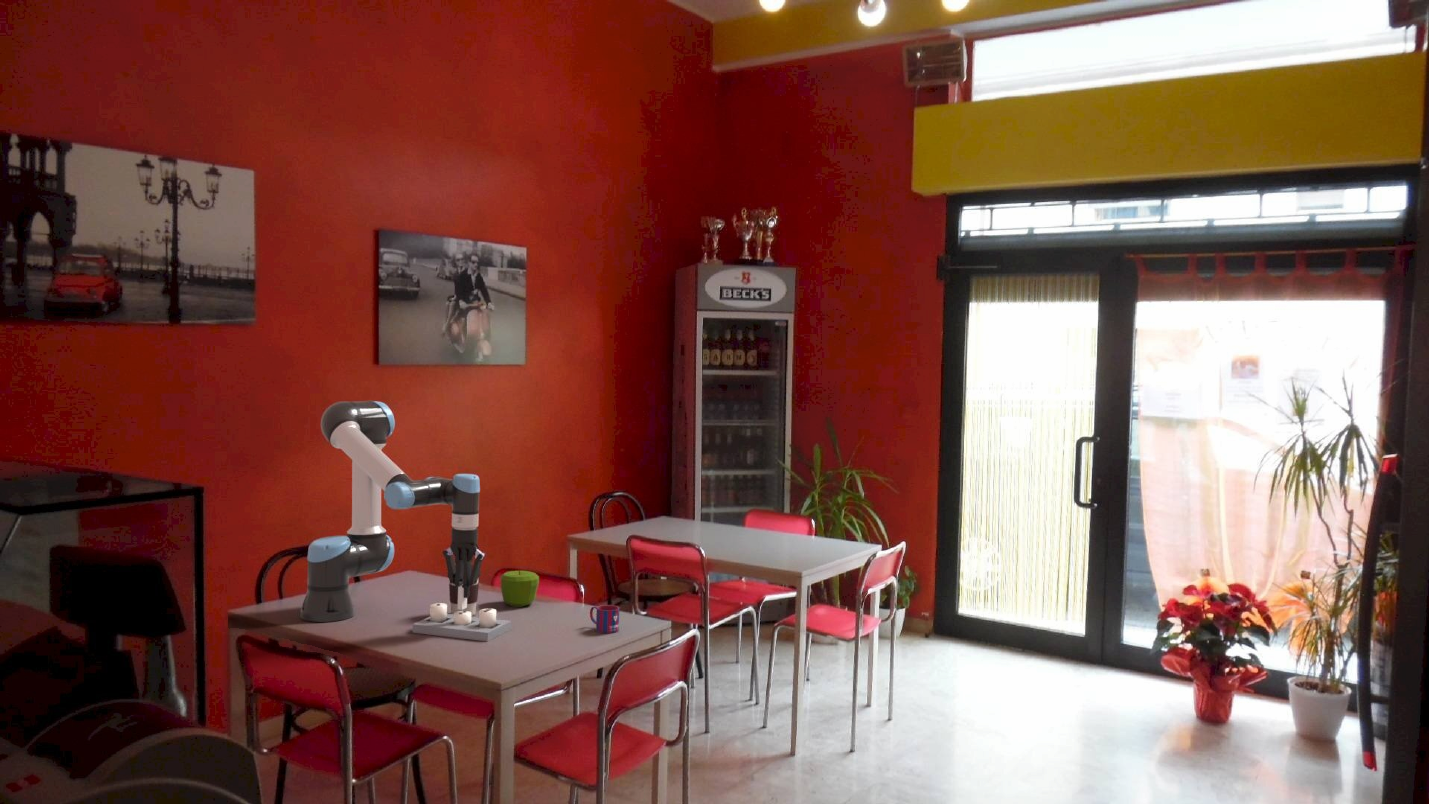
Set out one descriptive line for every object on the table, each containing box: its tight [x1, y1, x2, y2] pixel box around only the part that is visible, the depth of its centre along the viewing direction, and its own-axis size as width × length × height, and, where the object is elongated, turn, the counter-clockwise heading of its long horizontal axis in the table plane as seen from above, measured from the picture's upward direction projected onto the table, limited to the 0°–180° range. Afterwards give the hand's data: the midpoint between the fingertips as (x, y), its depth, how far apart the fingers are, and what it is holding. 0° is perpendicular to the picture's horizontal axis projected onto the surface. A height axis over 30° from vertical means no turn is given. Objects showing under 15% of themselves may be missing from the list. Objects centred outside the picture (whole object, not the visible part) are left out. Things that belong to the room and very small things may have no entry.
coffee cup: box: [447, 564, 482, 617], centre depth 301 cm, size 10×10×15 cm
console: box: [412, 613, 512, 642], centre depth 284 cm, size 24×14×2 cm, turn 74°
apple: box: [500, 569, 540, 608], centre depth 317 cm, size 12×12×11 cm
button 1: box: [429, 602, 448, 622], centre depth 286 cm, size 5×5×5 cm
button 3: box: [478, 607, 497, 628], centre depth 282 cm, size 5×5×5 cm
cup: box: [589, 604, 620, 634], centre depth 290 cm, size 7×10×7 cm
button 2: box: [454, 611, 471, 626], centre depth 284 cm, size 5×5×5 cm
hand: (462, 608), depth 284 cm, fingers closed
